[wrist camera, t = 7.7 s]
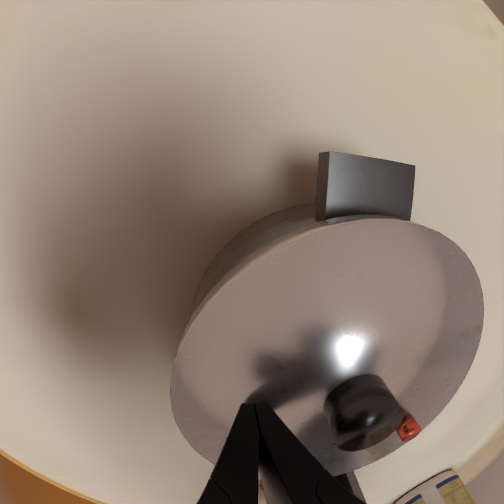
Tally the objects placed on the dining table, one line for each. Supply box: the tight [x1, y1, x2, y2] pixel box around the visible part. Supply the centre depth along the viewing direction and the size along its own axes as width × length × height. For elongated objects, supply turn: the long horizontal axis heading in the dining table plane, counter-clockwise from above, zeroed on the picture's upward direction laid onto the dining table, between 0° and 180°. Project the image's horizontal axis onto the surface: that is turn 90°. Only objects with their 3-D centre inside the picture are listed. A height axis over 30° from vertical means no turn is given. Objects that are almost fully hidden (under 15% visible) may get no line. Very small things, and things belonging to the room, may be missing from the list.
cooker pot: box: [192, 152, 415, 315], centre depth 12 cm, size 13×14×4 cm
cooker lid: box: [170, 215, 484, 480], centre depth 9 cm, size 13×13×3 cm
